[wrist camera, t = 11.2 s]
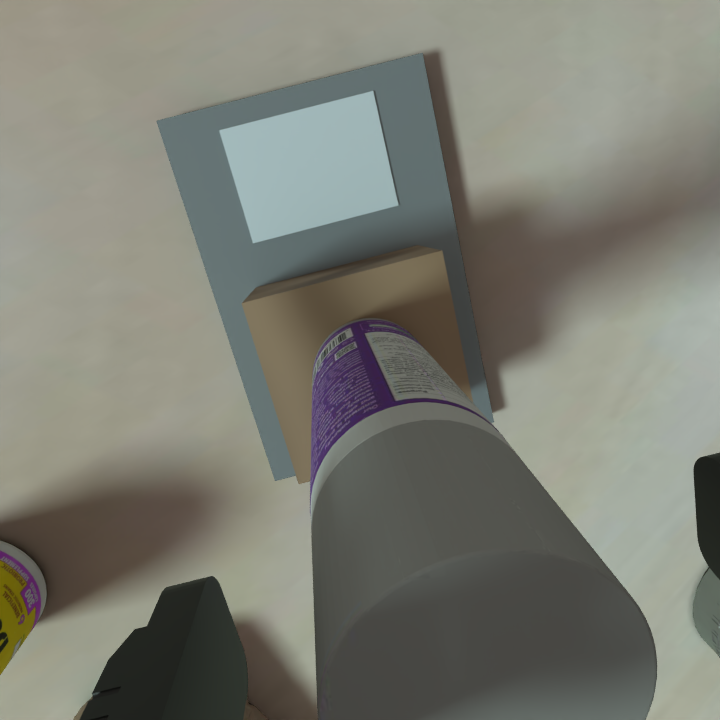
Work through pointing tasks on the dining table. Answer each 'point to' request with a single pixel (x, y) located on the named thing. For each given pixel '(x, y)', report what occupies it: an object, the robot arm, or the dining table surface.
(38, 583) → the supplement bottle
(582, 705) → the container
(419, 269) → the walnut plinth
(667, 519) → the dining table surface
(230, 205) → the slate board
